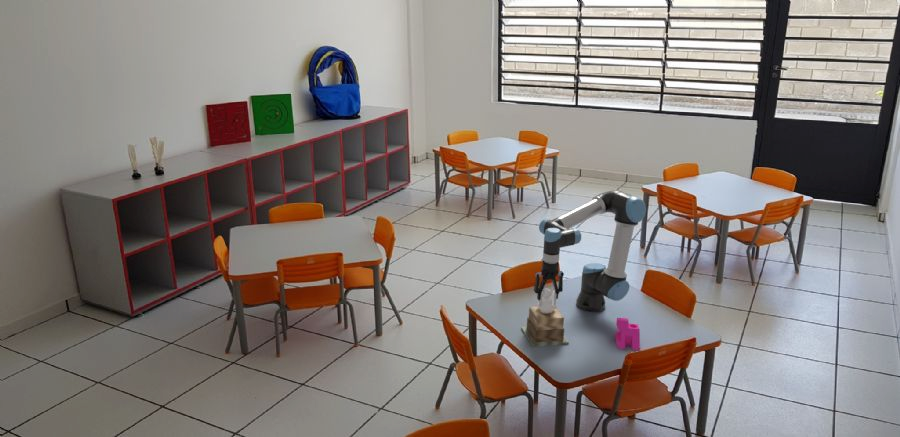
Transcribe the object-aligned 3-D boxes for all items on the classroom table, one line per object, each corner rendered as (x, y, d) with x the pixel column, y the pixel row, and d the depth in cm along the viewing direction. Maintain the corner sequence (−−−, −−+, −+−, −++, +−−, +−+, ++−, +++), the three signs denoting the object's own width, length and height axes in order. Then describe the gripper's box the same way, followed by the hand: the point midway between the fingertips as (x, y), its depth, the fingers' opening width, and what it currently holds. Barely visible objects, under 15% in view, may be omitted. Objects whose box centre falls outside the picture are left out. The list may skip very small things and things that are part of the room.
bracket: (614, 336, 349) (617, 317, 345) (636, 338, 348) (638, 319, 344) (617, 348, 338) (619, 329, 334) (639, 350, 337) (642, 331, 333)
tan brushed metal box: (555, 325, 357) (557, 302, 352) (568, 343, 340) (570, 319, 336) (521, 328, 353) (523, 304, 349) (532, 346, 337) (534, 322, 332)
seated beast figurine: (556, 307, 345) (558, 285, 341) (556, 316, 337) (557, 293, 333) (537, 305, 347) (538, 283, 343) (535, 313, 339) (537, 290, 335)
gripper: (567, 256, 339) (563, 300, 346) (528, 258, 335) (525, 303, 343) (572, 262, 332) (568, 307, 340) (533, 265, 328) (530, 310, 336)
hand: (546, 305), depth 341 cm, fingers open, 6 cm apart
